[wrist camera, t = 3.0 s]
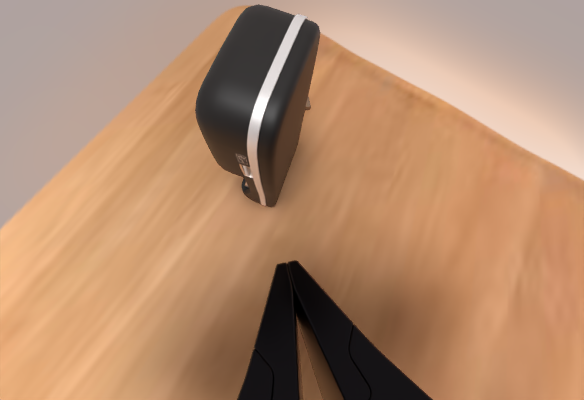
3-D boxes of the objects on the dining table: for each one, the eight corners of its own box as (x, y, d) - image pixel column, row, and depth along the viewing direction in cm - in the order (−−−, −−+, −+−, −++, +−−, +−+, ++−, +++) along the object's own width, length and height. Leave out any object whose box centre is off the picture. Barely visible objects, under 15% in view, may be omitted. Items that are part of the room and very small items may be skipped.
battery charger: (259, 127, 20) (242, -29, 9) (299, 140, 20) (329, 0, 9) (229, 196, 18) (163, 106, 7) (273, 211, 18) (271, 143, 7)
